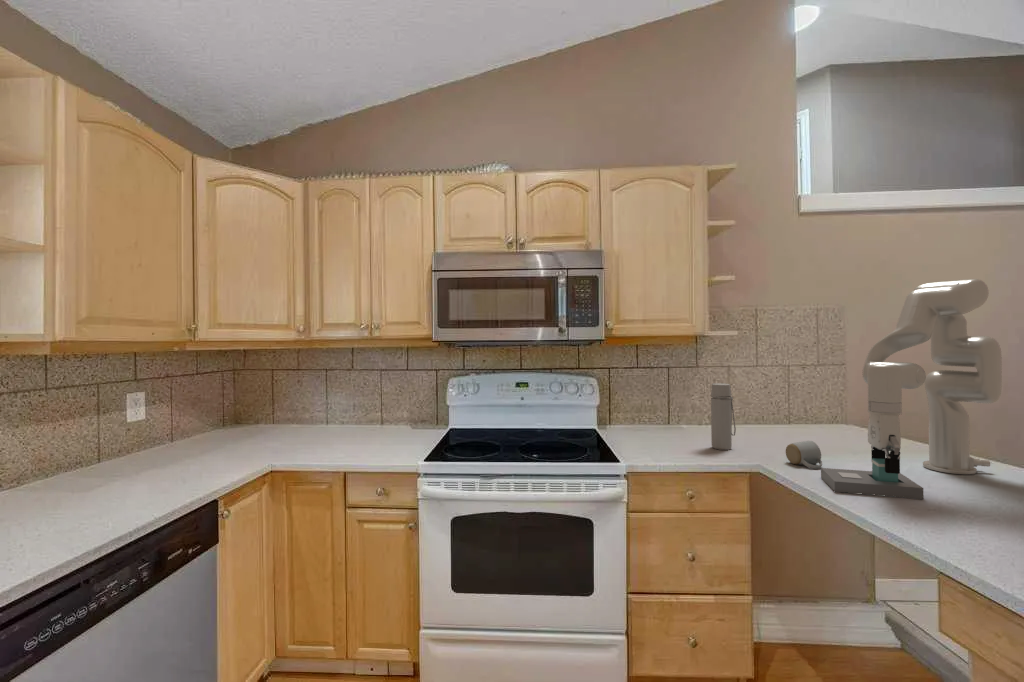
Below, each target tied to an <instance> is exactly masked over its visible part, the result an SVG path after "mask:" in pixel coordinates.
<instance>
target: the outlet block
mask: <svg viewBox="0 0 1024 682" xmlns="http://www.w3.org/2000/svg"><path fill="white" fill-rule="evenodd" d="M820 478H821V480H823V482H824V483H825V484H827V486H828V485H829V486H830V487H831V488H830V487H829V486H828V487H829V488H830V489H831V490H832V491H833V490H834V491H835V492H834V491H833V492H834V493H840V492H848V493H847V494H852V493H862V494H861V495H864V494H875V495H874V496H876V495H885V496H884V497H888V496H896V497H895V498H900V497H906V498H905V499H912V498H916V499H915V500H924V487H923V486H921V485H919V484H918V483H917V482H915V481H913V480H911V479H910V478H909V477H907V476H906V475H904V474H903V473H901V472H900V473H899V474H898V482H885V481H875V480H874V479H873V478H872V470H856V469H846V468H845V469H844V468H843V469H842V468H830V467H821V468H820Z"/></svg>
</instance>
